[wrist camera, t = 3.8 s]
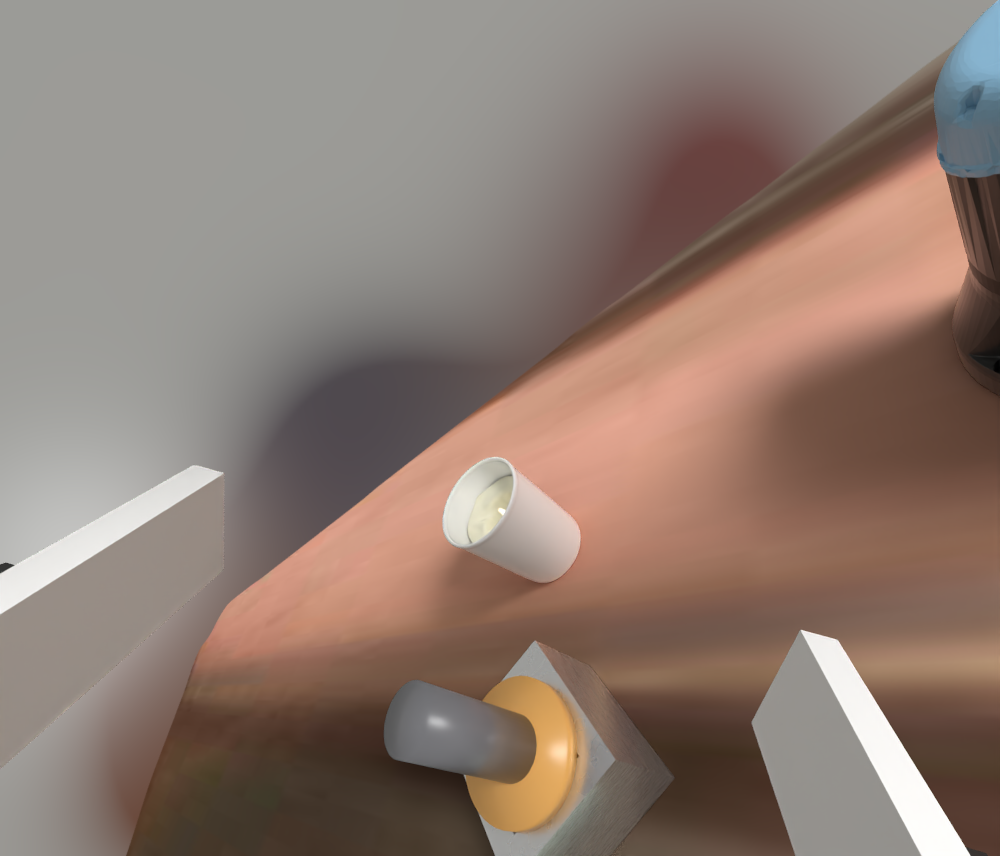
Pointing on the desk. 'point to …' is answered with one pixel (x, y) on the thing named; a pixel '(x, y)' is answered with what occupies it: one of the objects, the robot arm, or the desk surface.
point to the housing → (589, 767)
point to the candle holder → (510, 522)
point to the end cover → (491, 745)
